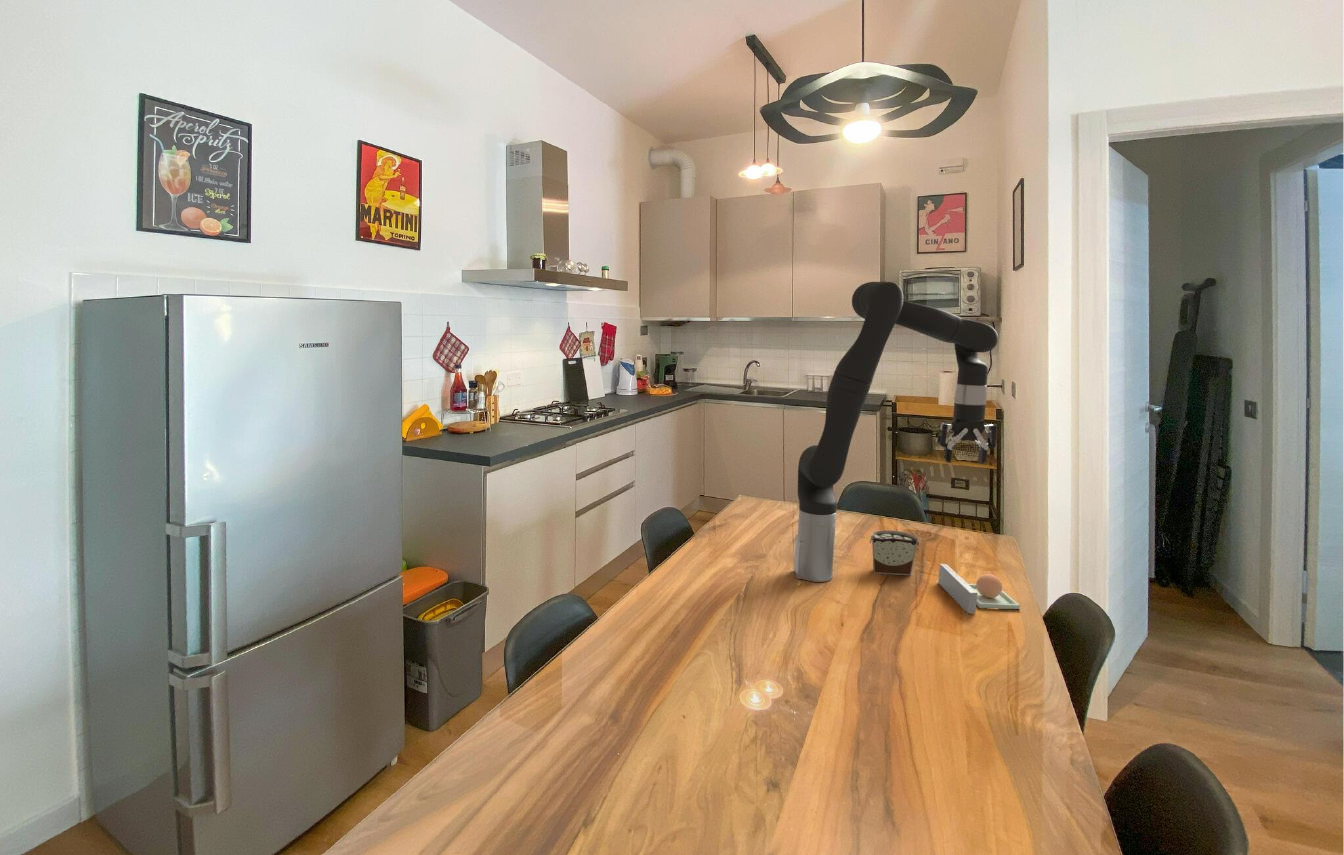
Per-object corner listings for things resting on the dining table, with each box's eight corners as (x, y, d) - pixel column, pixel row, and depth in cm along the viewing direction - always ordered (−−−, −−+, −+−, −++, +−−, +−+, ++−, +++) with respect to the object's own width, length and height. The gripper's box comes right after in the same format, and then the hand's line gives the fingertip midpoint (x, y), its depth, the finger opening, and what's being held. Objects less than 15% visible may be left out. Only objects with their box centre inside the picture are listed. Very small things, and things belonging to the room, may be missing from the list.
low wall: (968, 613, 146) (970, 592, 145) (938, 582, 164) (939, 563, 163) (975, 614, 146) (977, 592, 145) (944, 582, 164) (946, 563, 163)
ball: (980, 601, 152) (983, 578, 151) (971, 591, 157) (973, 570, 157) (1004, 602, 152) (1007, 580, 151) (994, 593, 157) (996, 571, 156)
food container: (910, 567, 174) (913, 531, 173) (916, 575, 168) (920, 538, 167) (863, 564, 176) (866, 528, 174) (867, 572, 170) (870, 535, 168)
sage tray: (979, 608, 149) (979, 603, 149) (958, 588, 161) (958, 583, 161) (1019, 610, 149) (1019, 605, 149) (995, 589, 161) (995, 584, 160)
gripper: (947, 403, 167) (942, 465, 169) (1004, 404, 166) (998, 466, 169) (937, 399, 174) (932, 459, 177) (991, 401, 174) (985, 460, 176)
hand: (964, 462), depth 173 cm, fingers open, 8 cm apart
